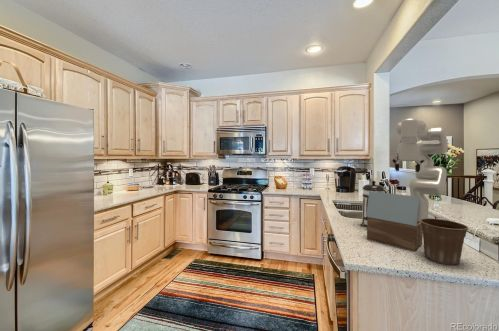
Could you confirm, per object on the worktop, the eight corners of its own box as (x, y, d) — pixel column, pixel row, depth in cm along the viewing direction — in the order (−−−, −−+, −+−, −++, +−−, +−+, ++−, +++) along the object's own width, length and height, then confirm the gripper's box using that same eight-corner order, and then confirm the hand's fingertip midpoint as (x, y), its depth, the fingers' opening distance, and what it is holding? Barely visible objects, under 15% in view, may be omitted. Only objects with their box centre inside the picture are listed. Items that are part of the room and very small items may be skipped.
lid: (370, 191, 128) (369, 191, 127) (419, 197, 111) (419, 196, 110) (366, 216, 126) (365, 216, 125) (416, 226, 109) (416, 226, 108)
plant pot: (472, 271, 91) (474, 231, 90) (422, 262, 98) (423, 224, 98) (459, 256, 105) (461, 221, 104) (416, 249, 113) (417, 216, 112)
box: (376, 233, 135) (377, 213, 135) (422, 244, 119) (423, 221, 119) (366, 239, 126) (367, 217, 126) (414, 251, 110) (415, 226, 109)
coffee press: (354, 222, 158) (355, 179, 157) (378, 223, 158) (379, 179, 157) (366, 230, 141) (367, 182, 140) (392, 231, 140) (394, 182, 139)
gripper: (423, 141, 131) (422, 172, 131) (389, 141, 136) (387, 170, 136) (429, 140, 123) (428, 172, 124) (393, 140, 128) (391, 170, 129)
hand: (407, 171), depth 130 cm, fingers open, 9 cm apart
